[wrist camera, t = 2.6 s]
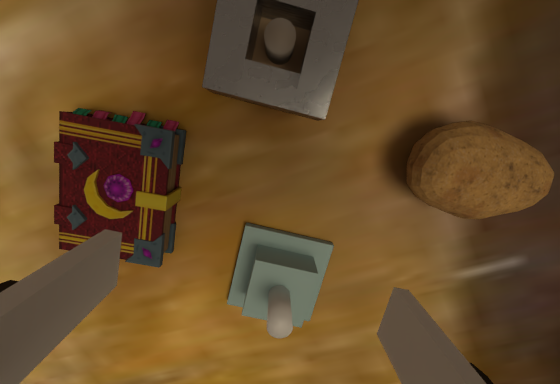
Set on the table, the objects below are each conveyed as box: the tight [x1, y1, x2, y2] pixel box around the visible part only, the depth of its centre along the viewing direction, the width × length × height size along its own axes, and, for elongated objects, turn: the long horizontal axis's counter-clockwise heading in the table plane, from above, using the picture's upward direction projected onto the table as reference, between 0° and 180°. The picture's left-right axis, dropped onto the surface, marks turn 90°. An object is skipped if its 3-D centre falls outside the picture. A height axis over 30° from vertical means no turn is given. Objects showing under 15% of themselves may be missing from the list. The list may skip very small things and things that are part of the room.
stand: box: [252, 17, 310, 73], centre depth 25 cm, size 7×7×9 cm
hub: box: [227, 223, 334, 338], centre depth 30 cm, size 11×11×10 cm
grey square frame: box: [202, 0, 358, 120], centre depth 22 cm, size 10×10×4 cm
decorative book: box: [54, 108, 186, 267], centre depth 30 cm, size 11×16×5 cm
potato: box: [407, 121, 554, 219], centre depth 28 cm, size 10×14×8 cm
